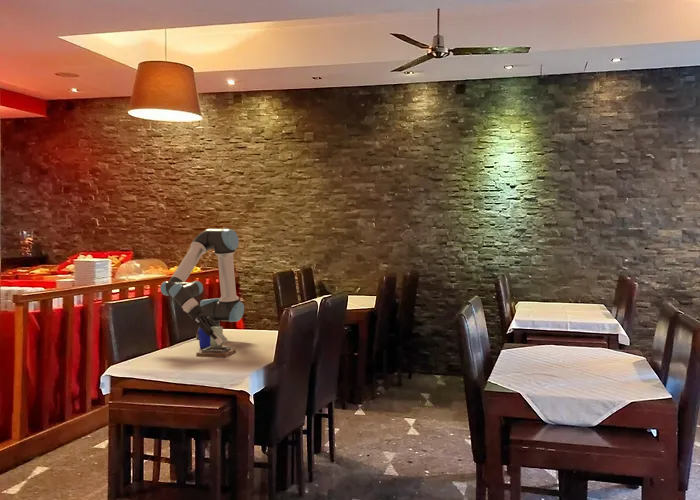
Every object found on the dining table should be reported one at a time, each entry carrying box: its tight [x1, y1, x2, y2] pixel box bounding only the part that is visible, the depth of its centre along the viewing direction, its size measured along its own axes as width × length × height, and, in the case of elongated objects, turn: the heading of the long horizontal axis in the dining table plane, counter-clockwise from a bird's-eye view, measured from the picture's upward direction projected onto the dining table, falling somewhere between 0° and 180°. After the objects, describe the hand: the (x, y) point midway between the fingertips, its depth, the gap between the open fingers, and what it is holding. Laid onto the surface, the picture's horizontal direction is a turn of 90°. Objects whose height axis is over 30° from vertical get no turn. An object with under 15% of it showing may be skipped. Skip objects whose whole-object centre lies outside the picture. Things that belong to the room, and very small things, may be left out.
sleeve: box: [210, 325, 224, 350], centre depth 307 cm, size 6×6×11 cm
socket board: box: [195, 346, 237, 358], centre depth 307 cm, size 15×15×3 cm
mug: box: [198, 329, 210, 349], centre depth 327 cm, size 8×12×10 cm
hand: (223, 342), depth 307 cm, fingers closed on sleeve, 6 cm apart
